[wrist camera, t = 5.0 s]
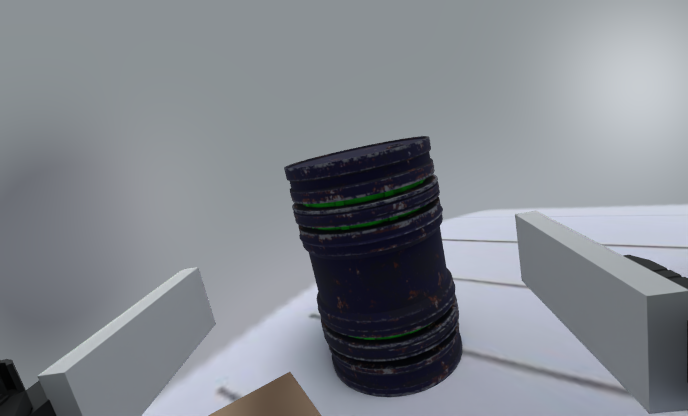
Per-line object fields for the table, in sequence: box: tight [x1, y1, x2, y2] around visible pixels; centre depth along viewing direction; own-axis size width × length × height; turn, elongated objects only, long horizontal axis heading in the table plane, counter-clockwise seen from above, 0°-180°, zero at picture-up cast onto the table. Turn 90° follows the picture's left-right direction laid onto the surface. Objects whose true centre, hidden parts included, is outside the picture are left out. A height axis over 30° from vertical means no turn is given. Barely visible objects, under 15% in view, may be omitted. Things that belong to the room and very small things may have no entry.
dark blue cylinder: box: [284, 136, 462, 397], centre depth 25 cm, size 10×10×15 cm
